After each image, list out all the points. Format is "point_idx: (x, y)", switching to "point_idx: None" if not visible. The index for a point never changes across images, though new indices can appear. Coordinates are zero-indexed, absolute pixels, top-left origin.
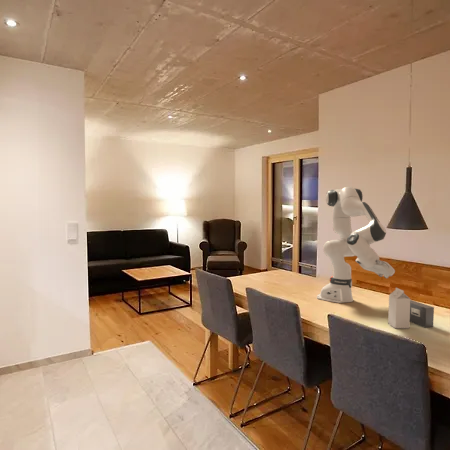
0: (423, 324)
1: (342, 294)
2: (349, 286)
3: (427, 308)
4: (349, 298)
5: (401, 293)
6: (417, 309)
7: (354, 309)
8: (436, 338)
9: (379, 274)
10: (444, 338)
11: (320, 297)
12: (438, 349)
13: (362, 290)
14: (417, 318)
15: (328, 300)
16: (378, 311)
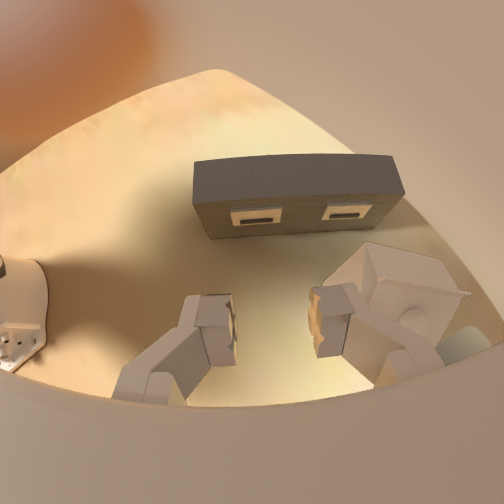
0: (369, 225)
1: (22, 321)
2: (1, 277)
3: (402, 188)
4: (37, 291)
5: (450, 305)
6: (359, 204)
7: (113, 346)
8: (447, 268)
9: (219, 360)
10: (447, 245)
11: (6, 366)
12: (491, 321)
13: (12, 172)
14: (347, 220)
15: (24, 360)
16: (161, 265)
